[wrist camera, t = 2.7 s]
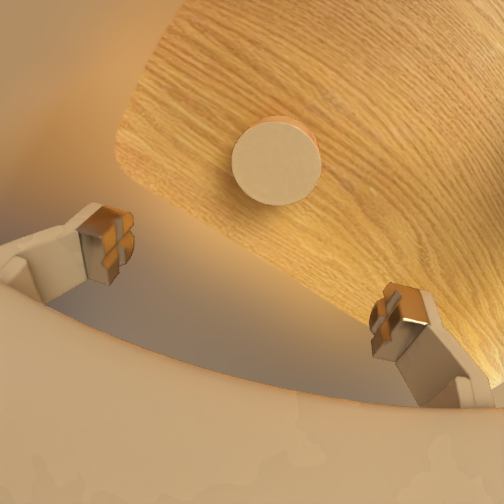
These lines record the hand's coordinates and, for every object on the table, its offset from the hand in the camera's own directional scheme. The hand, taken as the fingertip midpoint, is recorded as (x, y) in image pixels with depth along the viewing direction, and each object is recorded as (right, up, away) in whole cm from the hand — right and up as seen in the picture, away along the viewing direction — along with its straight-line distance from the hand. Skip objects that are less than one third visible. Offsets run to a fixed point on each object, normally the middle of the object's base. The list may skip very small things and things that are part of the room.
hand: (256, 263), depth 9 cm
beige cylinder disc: (+2, +7, +9) cm, 11 cm away
